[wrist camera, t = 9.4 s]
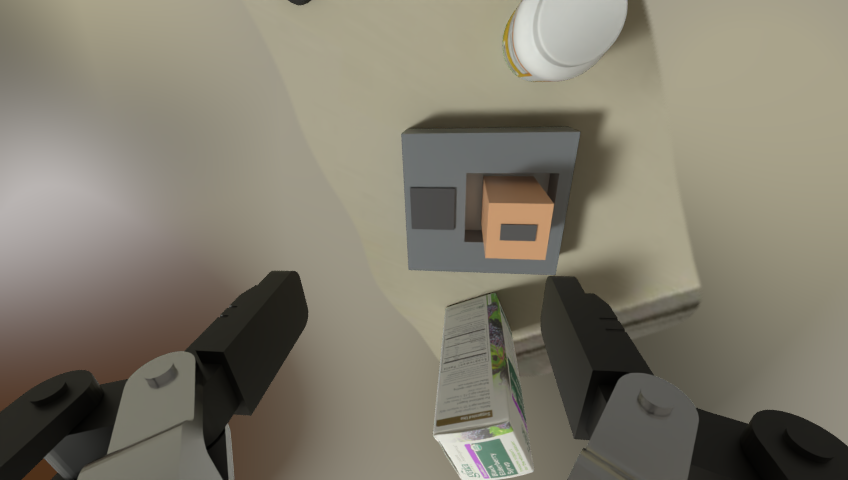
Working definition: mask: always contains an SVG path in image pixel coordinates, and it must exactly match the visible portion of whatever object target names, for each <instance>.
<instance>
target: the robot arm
mask: <svg viewBox="0 0 848 480" xmlns="http://www.w3.org/2000/svg"><path fill="white" fill-rule="evenodd" d="M307 319H308V307H307V303H306V299H305V296H304V292H303V288H302V284H301V280H300V276H299V274H298V273H297V272H296V271H271V272H270V273H269V274H268V275H267V276H266V277H265V278H264V279H263V280H262V281H261V282H260V283H259V284H258V285H255V286H254V287H252V288H251V289H249V290H247V291H246V292H244V293H242V294H241V295H240V296H239V297H238V298H237V299H236V300H235V301H234V302H233V303H232V304H231V305H230V307H229V308H227V309H226V310H225V311H224V312H223V313H222V314H221V315H220V318H219V317H218V318H217V319H216V320H215V321H214V322H213V323H212V324H211V325H210V326H209V327H208V328H207V329H206V330H205V331H204V332H203V333H202V334H201V335H200V336H199V337H198V338H197V339H196V340H195V341H194V342H193V343H192V344H191V345H190V346H189V347H188V348H187V349H186V350H185V351H184V352H173V353H169V354H165V355H163V356H160V357H158V358H156V359H153V360H152V361H150V362H148V363H146V364H145V365H143V366H142V367H141V368H139V369H138V370H137V371H136V372H135V373H134V374H133V375H132V376H131V377H130V378H129V379H126V380H121V381H116V382H111V383H106V384H101V385H99V383H98V382H97V380H96V379H95V378H94V376H93V375H92V373H90V372H89V371H86V370H76V371H70V372H67V373H63V374H60V375H58V376H55V377H53V378H50V379H48V380H46V381H44V382H42V383H40V384H39V385H37V386H35V387H34V388H32V389H30V390H29V391H27V392H26V393H25V394H23V395H22V396H21V397H19V398H18V399H17V400H15V401H14V402H13V403H12V404H10V405H9V406H8V407H6V408H5V409H4V410H2V411H1V412H0V480H21V479H22V478H24V477H25V475H26V474H27V473H29V472H30V471H31V470H32V469H33V468H34V467H35V465H37V464H38V463H39V462H40V461H41V460H42V459H43V458H44V459H45V460H46V461H47V462H48V463H49V464H50V465H51V466H52V467H53V468H54V469H55V470H56V471H57V472H58V473H57V474H56V475H55V476H54V477H53V478H52V480H234V470H233V457H232V445H231V432H230V428H229V426H228V424H227V423H228V422H229V420H230V419H231V417H232V416H233V414H237V415H250V416H251V415H252V413H253V411H254V410H255V408H256V407H257V405H258V404H259V402H260V400H261V399H262V397H263V395H264V394H265V392H266V390H267V389H268V387H269V385H270V384H271V382H272V381H273V379H274V377H275V375H276V374H277V372H278V371H279V369H280V367H281V366H282V364H283V362H284V361H285V359H286V358H287V356H288V354H289V353H290V351H291V349H292V348H293V346H294V344H295V343H296V341H297V340H298V338H299V336H300V335H301V333H302V331H303V330H304V328H305V326H306V323H307ZM541 332H542V337H543V340H544V343H545V347H546V350H547V353H548V356H549V360H550V363H551V366H552V369H553V372H554V376H555V379H556V382H557V385H558V388H559V391H560V395H561V398H562V401H563V404H564V407H565V411H566V414H567V417H568V420H569V424H570V427H571V430H572V433H573V436H574V439H581V440H582V439H583V440H590V441H589V443H588V445H587V447H586V449H585V448H583V449H582V451H581V453H580V454H579V456H578V458H577V461H576V462H575V464H574V466H573V469H572V471H571V473H570V475H569V477H568V479H567V480H848V446H847V445H845V444H844V443H843V442H842V441H841V440H839V439H838V438H837V437H835V436H834V435H833V434H831V433H830V432H828V431H826V430H825V429H823V428H822V427H820V426H818V425H816V424H814V423H812V422H810V421H808V420H806V419H804V418H801V417H799V416H796V415H793V414H790V413H786V412H783V411H777V410H763V411H760V412H757V413H756V414H755V415H754V416H753V418H752V419H751V421H750V422H749V424H747V423H743V422H740V421H737V420H734V419H730V418H727V417H724V416H720V415H717V414H713V413H710V412H707V411H704V410H701V409H698V408H696V407H695V406H694V404H693V403H692V401H691V400H690V399H689V398H688V397H687V396H686V395H685V394H684V393H683V392H682V391H681V390H680V389H678V388H677V387H675V386H674V385H673V384H671V383H669V382H667V381H666V380H664V379H661V378H659V377H656V376H654V375H653V373H652V371H651V370H650V369H649V367H648V365H647V364H646V362H645V361H644V359H643V358H642V356H641V355H640V353H639V351H638V350H637V348H636V346H635V345H634V343H633V342H632V340H631V339H630V337H629V336H628V334H627V332H625V329H624V328H623V326H622V325H621V323H620V321H618V320H617V317H616V315H615V314H614V312H613V311H612V309H611V307H610V306H609V305H608V304H607V303H606V302H604V301H603V300H602V299H601V298H599V297H598V296H597V295H595V294H586V293H585V292H584V291H583V289H582V287H581V285H580V284H579V282H578V280H577V279H576V277H568V276H549V277H548V278H547V280H546V286H545V292H544V299H543V306H542V312H541Z"/></svg>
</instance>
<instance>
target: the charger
mask: <svg viewBox="0 0 848 480" xmlns="http://www.w3.org/2000/svg"><path fill="white" fill-rule="evenodd" d="M553 208H554V203H553V202H552V200H551V199H550V198H549V196H548V195H547V194H546V192H545V191H544V190H543V188H542V187H541V186H540V184H539V183H538V181H537V180H536V179H535V177H534V176H483V192H482V210H481V226H482V234H483V243H484V251H485V258H498V259H530V260H545V259H546V252H547V246H548V240H549V233H550V227H551V220H552V214H553Z"/></svg>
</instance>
